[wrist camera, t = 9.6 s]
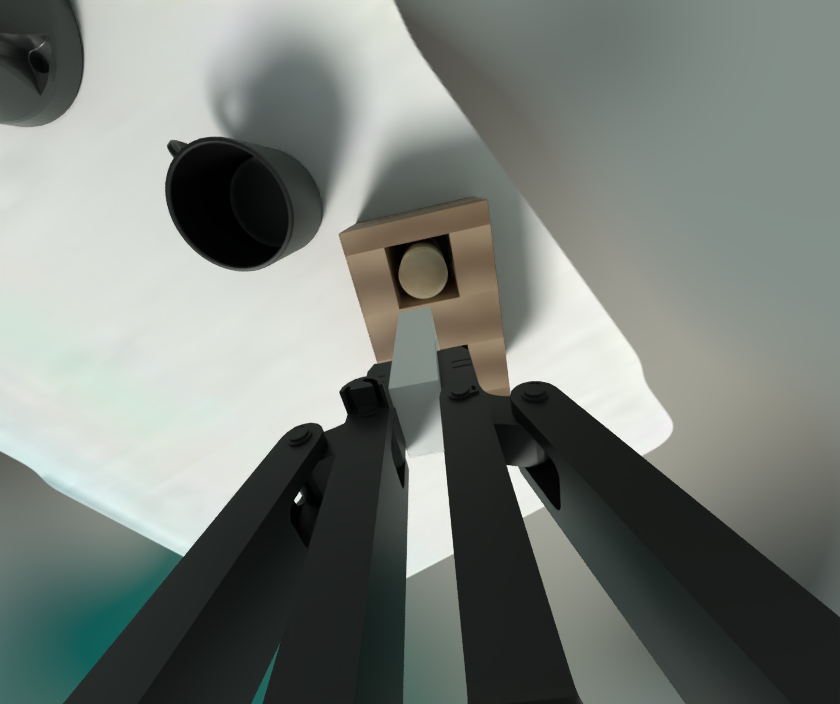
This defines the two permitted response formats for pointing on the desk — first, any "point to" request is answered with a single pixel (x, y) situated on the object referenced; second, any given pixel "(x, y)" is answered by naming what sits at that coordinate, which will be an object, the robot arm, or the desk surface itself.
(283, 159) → the mug
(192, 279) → the desk surface
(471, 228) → the walnut block
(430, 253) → the peg
